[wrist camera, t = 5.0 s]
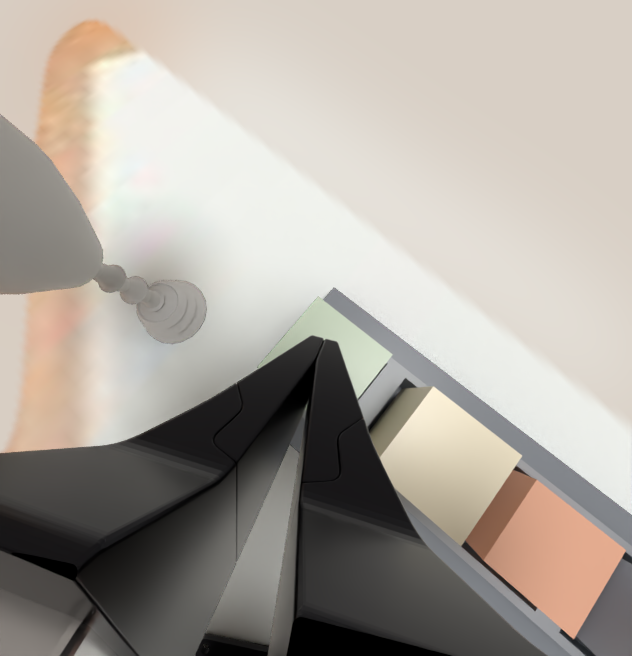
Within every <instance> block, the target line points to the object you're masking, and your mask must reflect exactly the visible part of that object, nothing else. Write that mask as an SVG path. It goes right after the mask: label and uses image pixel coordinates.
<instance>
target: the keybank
mask: <svg viewBox="0 0 632 656" xmlns="http://www.w3.org/2000/svg"><path fill="white" fill-rule="evenodd" d="M323 300H324V301H325V302H326V303H328V304H329V305H330V306H331V307H333V308H334V309H335V310H337V311H338V312H339V313H340V314H342V315H343V316H344V317H346V318H347V319H348V320H349V321H351V322H352V323H353V324H354V325H356V326H357V327H358V328H360V329H361V330H362V331H363V332H365V333H366V334H367V335H369V336H370V337H371V338H372V339H374V340H375V341H376V342H377V343H379V344H380V345H381V346H383V347H384V348H385V349H386V350H388V351H389V352H390V353H392V354H393V355H392V356H391V358H390V359H389V360H388V361H387V363H386V364H385V365H384V366H383V368H382V369H381V370H380V371H379V373H378V374H377V375H376V377H375V378H374V379H373V380H372V382H371V383H370V384H369V385H368V387H367V388H366V389H365V390H364V392H363V393H362V394H361V395H360V397H359V398H358V402H359V405H360V408H361V411H362V414H363V417H364V420H365V422H366V425H367V428H368V431H370V430H371V428H372V427H373V426H374V424H375V423H376V422H377V421H378V419H379V418H380V417H381V415H382V414H383V413H384V411H385V410H386V409H387V408H388V406H389V405H390V404H391V402H392V401H393V400H394V398H395V397H396V396H397V395H398V393H399V392H400V391H401V389H404V388H417V387H431V386H434V387H435V388H436V389H438V390H439V391H440V392H441V393H443V394H444V395H445V396H447V397H448V398H449V399H450V400H452V401H453V402H454V403H456V404H457V405H458V406H459V407H461V408H462V409H463V410H465V411H466V412H467V413H468V414H470V415H471V416H472V417H473V418H475V419H476V420H477V421H479V422H480V423H481V424H482V425H484V426H485V427H486V428H488V429H489V430H490V431H491V432H493V433H494V434H495V435H497V436H498V437H499V438H500V439H502V440H503V441H504V442H505V443H507V444H508V445H509V446H511V447H512V448H513V449H514V450H516V451H517V452H518V453H520V454H521V455H522V457H521V459H520V460H519V462H518V463H517V465H516V466H515V467H514V469H513V470H515V471H518V472H520V473H522V474H525V475H527V476H529V477H532V478H534V479H537V480H538V481H539V482H541V483H542V484H543V485H544V486H546V487H547V488H548V489H549V490H551V491H552V492H553V493H554V494H556V495H557V496H558V497H560V498H561V499H562V500H563V501H565V502H566V503H567V504H568V505H570V506H571V507H572V508H573V509H575V510H576V511H577V512H579V513H580V514H581V515H582V516H584V517H585V518H586V519H587V520H589V521H590V522H591V523H592V524H594V525H595V526H596V527H598V528H599V529H600V530H601V531H603V532H604V533H605V534H606V535H608V536H609V537H610V538H611V539H613V540H614V541H615V542H616V543H618V544H619V545H620V546H622V547H623V548H624V549H625V550H626V552H625V553H624V555H623V557H622V559H624V560H625V561H627V562H629V563H631V564H632V515H631V514H630V513H628V512H627V511H626V510H624V509H623V508H622V507H620V506H619V505H618V504H617V503H615V502H614V501H613V500H611V499H610V498H609V497H607V496H606V495H605V494H603V493H602V492H601V491H600V490H598V489H597V488H596V487H594V486H593V485H592V484H590V483H589V482H588V481H587V480H585V479H584V478H583V477H581V476H580V475H579V474H577V473H576V472H575V471H573V470H572V469H571V468H570V467H568V466H567V465H566V464H564V463H563V462H562V461H560V460H559V459H558V458H556V457H555V456H554V455H553V454H551V453H550V452H549V451H547V450H546V449H545V448H543V447H542V446H541V445H539V444H538V443H537V442H536V441H534V440H533V439H532V438H530V437H529V436H528V435H526V434H525V433H524V432H522V431H521V430H520V429H519V428H517V427H516V426H515V425H513V424H512V423H511V422H509V421H508V420H507V419H506V418H504V417H503V416H502V415H500V414H499V413H498V412H496V411H495V410H494V409H492V408H491V407H490V406H489V405H487V404H486V403H485V402H483V401H482V400H481V399H479V398H478V397H477V396H475V395H474V394H473V393H472V392H470V391H469V390H468V389H466V388H465V387H464V386H462V385H461V384H460V383H458V382H457V381H456V380H455V379H453V378H452V377H451V376H449V375H448V374H447V373H445V372H444V371H443V370H441V369H440V368H439V367H438V366H436V365H435V364H434V363H432V362H431V361H430V360H428V359H427V358H426V357H424V356H423V355H422V354H421V353H419V352H418V351H417V350H415V349H414V348H413V347H411V346H410V345H409V344H408V343H406V342H405V341H404V340H402V339H401V338H400V337H398V336H397V335H396V334H394V333H393V332H392V331H391V330H389V329H388V328H387V327H385V326H384V325H383V324H381V323H380V322H379V321H377V320H376V319H375V318H374V317H372V316H371V315H370V314H368V313H367V312H366V311H364V310H363V309H362V308H360V307H359V306H358V305H357V304H355V303H354V302H353V301H351V300H350V299H349V298H347V297H346V296H345V295H343V294H342V293H341V292H340V291H338V290H337V289H336V288H333V289H332V290H331V291H330V292H329V294H328V295H327V296H326V297H325V298H324V299H323ZM305 415H306V410H305V411H304V413H303V416H302V418H301V420H300V422H299V425H298V427H297V429H296V431H295V434H294V436H293V438H292V440H291V442H290V445H291V446H292V447H293V448H294V449H296V450H297V451H298V452H299V453H300V447H301V440H302V434H303V428H304V421H305ZM395 490H396V489H395ZM396 492H397V494H398V496H399V498H400V500H401V502H402V504H403V506H404V508H405V510H406V512H407V514H408V516H409V518H410V520H411V522H412V524H413V526H414V527H415V529H416V530H417V532H418V534H419V535H420V536H421V538H422V539H423V541H424V542H425V543H426V544H427V545H428V547H429V548H430V549H431V550H432V551H433V552H434V553H435V554H436V555H437V556H438V557H439V558H440V559H441V560H443V561H444V562H445V563H446V564H447V565H448V566H449V567H450V568H451V569H452V570H453V571H454V572H455V573H456V574H457V575H458V576H459V577H461V578H462V579H463V580H464V581H465V582H466V583H467V584H468V585H469V586H470V587H471V588H472V589H473V590H474V591H475V592H476V593H477V594H478V595H480V596H481V597H482V598H483V599H484V600H485V601H486V602H487V603H488V604H489V605H490V606H491V607H492V608H493V609H494V610H495V611H496V612H497V613H499V614H500V615H501V616H502V617H503V618H504V619H505V620H506V621H507V622H508V623H509V624H510V625H511V626H512V627H513V628H514V629H516V630H517V631H518V632H519V633H520V634H521V635H522V636H524V637H525V638H526V639H527V640H528V641H529V642H530V643H532V644H533V645H534V646H536V647H537V648H538V649H540V650H541V651H542V652H544V653H545V654H547V655H548V656H596V655H595V654H594V653H593V652H592V651H591V650H590V649H589V648H588V647H587V646H586V645H585V644H584V643H583V642H582V641H581V640H580V639H579V638H578V637H577V636H575V638H574V639H573V638H572V637H570V636H569V635H568V634H567V633H566V632H565V631H564V630H562V629H561V628H560V627H559V626H558V625H557V624H556V623H554V622H553V621H552V620H551V619H550V618H549V617H548V616H546V615H545V614H544V613H543V612H542V611H541V610H540V609H538V608H537V607H536V606H535V605H534V604H533V603H532V602H530V601H529V600H528V599H527V598H526V597H525V596H524V595H522V594H521V593H520V592H519V591H518V590H517V589H515V588H514V587H513V586H512V585H511V584H510V583H509V582H507V581H506V580H505V579H504V578H503V577H502V576H501V575H499V574H498V573H497V572H496V571H495V570H494V569H493V568H491V567H490V566H489V565H488V564H487V563H486V562H485V561H483V559H482V558H481V557H480V556H479V555H478V554H477V553H476V552H475V551H474V550H473V548H472V547H471V546H470V545H469V544H468V543H467V542H466V541H464V543H463V544H462V546H460V545H459V544H458V543H456V542H455V541H454V540H453V539H452V538H451V537H450V536H448V535H447V534H446V533H445V532H444V531H443V530H442V529H441V528H439V527H438V526H437V525H436V524H435V523H434V522H433V521H431V520H430V519H429V518H428V517H427V516H426V515H425V514H423V513H422V512H421V511H420V510H419V509H418V508H417V507H415V506H414V505H413V504H412V503H411V502H410V501H409V500H407V499H406V498H405V497H404V496H403V495H402V494H401V493H400V492H398V491H397V490H396Z"/></svg>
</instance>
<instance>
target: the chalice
mask: <svg viewBox="0 0 632 656" xmlns="http://www.w3.org/2000/svg"><path fill="white" fill-rule="evenodd" d="M102 261H103V249H102V247H101V244H100V242H99V240H98V238H97V236H96V234H95V232H94V230H93V228H92V226H91V224H90V222H89V220H88V218H87V216H86V214H85V212H84V209H83V207H82V205H81V203H80V201H79V200H78V198H77V197H76V195H75V194H74V193H73V191H72V190H71V188H70V187H69V185H68V184H67V182H66V181H65V180H64V178H63V177H62V175H61V174H60V172H59V171H58V169H57V168H56V166H55V165H54V164H53V162H52V161H51V159H50V158H49V157H48V156H47V155H46V154H45V153H44V152H43V151H42V150H41V149H40V148H39V147H38V145H37V144H35V143H34V142H33V141H32V140H31V139H29V138H28V137H27V136H26V135H25V134H24V133H22V132H21V131H20V130H19V129H18V128H16V127H15V126H14V125H13V124H12V123H10V122H9V121H8V120H7V119H6V118H5V117H3V116H2V115H1V114H0V294H26V293H34V292H43V291H51V290H59V289H68V288H74V287H80V286H82V285H84V284H86V283H88V282H89V281H91V280H92V279H94V280H95V281H96V282H98V284H99V287H100V288H101V289H102V290H103V291H105V292H109V293H112V292H116V291H120V295H121V298H122V299H123V301H124V302H126V303H128V304H136V303H137V315H138V317H139V319H140V321H141V322H142V324H143V326H144V327H145V328H146V330H147V332H148V333H149V334H150V335H151V336H152V337H153V338H154V339H156V340H158V341H160V342H162V343H170V344H174V343H179V342H183V341H185V340H187V339H188V338H190V337H192V336H193V335H194V334H195V333H196V332H197V331H198V330H199V329H200V327H201V325H202V323H203V322H204V320H205V315H206V301H205V298H204V296H203V294H202V292H201V291H200V290H199V289H198V288H197V287H196V286H195V285H193V284H191V283H189V282H187V281H179V280H175V281H172V280H168V281H167V280H162V281H157V282H154V283H153V284H151V285H149V286H148V287H147V283H146V281H145V280H144V279H143V278H141V277H138V276H133V277H130V278H127V277H126V275H125V271H124V270H123V268H122V267H120V266H118V265H106V264H103V263H102Z"/></svg>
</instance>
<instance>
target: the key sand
mask: <svg viewBox="0 0 632 656" xmlns="http://www.w3.org/2000/svg"><path fill="white" fill-rule="evenodd" d="M369 434H370V436H371V439H372V441H373V444H374V446H375V449H376V451H377V453H378V455H379V457H380V460H381V462H382V464H383V466H384V468H385V470H386V472H387V474H388V476H389V478H390V480H391V482H392V484H393V486H394V488H395V489H396V490H397V491H398V492H400V493H401V494H402V495H403V496H404V497H405V498H406V499H407V500H409V501H410V502H411V503H412V504H413V505H414V506H415V507H417V508H418V509H419V510H420V511H421V512H422V513H423V514H425V515H426V516H427V517H428V518H429V519H430V520H431V521H433V522H434V523H435V524H436V525H437V526H438V527H439V528H441V529H442V530H443V531H444V532H445V533H446V534H447V535H448V536H450V537H451V538H452V539H453V540H454V541H455V542H456V543H458V544H459V545H460V546H462V544H463V543H464V541H465V540H466V538H467V537H468V535H469V534H470V533H471V531H472V530H473V528H474V527H475V525H476V524H477V522H478V521H479V519H480V518H481V516H482V515H483V513H484V512H485V510H486V509H487V507H488V506H489V504H490V503H491V501H492V500H493V499H494V497H495V496H496V494H497V493H498V491H499V490H500V488H501V487H502V485H503V484H504V482H505V481H506V479H507V478H508V476H509V475H510V473H511V472H512V470H513V469H514V467H515V466H516V465H517V463H518V462H519V460H520V459H521V457H522V455H521V454H520V453H518V452H517V451H516V450H514V449H513V448H512V447H511V446H509V445H508V444H507V443H505V442H504V441H503V440H502V439H500V438H499V437H498V436H497V435H495V434H494V433H493V432H491V431H490V430H489V429H488V428H486V427H485V426H484V425H482V424H481V423H480V422H479V421H477V420H476V419H475V418H473V417H472V416H471V415H470V414H468V413H467V412H466V411H465V410H463V409H462V408H461V407H459V406H458V405H457V404H456V403H454V402H453V401H452V400H450V399H449V398H448V397H447V396H445V395H444V394H443V393H441V392H440V391H439V390H438V389H436V388H435V387H434V386H431V387H417V388H404V389H401V391H400V392H399V393H398V395H397V396H396V397H395V398H394V400H393V401H392V402H391V404H390V405H389V406H388V408H387V409H386V410H385V411H384V413H383V414H382V415H381V417H380V418H379V419H378V421H377V422H376V423H375V424H374V426H373V427H372V428H371V430H370V431H369Z"/></svg>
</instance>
